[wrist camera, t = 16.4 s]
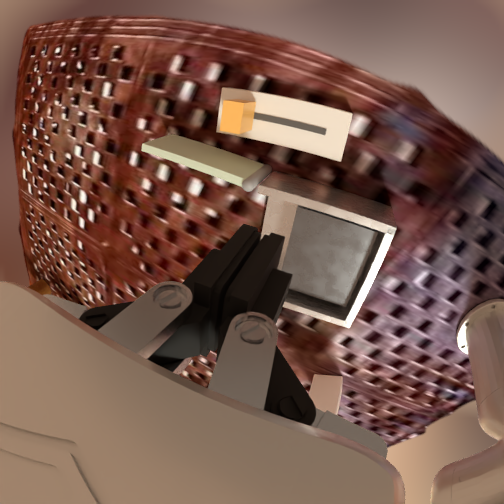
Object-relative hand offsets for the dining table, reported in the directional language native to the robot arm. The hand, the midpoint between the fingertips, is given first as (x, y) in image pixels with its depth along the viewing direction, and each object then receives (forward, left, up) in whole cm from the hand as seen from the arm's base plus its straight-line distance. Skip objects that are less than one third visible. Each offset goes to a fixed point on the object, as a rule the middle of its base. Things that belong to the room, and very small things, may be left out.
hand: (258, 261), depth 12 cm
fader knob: (+10, -2, -25) cm, 27 cm away
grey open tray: (-2, +13, -27) cm, 30 cm away
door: (+14, +4, -27) cm, 31 cm away
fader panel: (+6, -2, -27) cm, 28 cm away
